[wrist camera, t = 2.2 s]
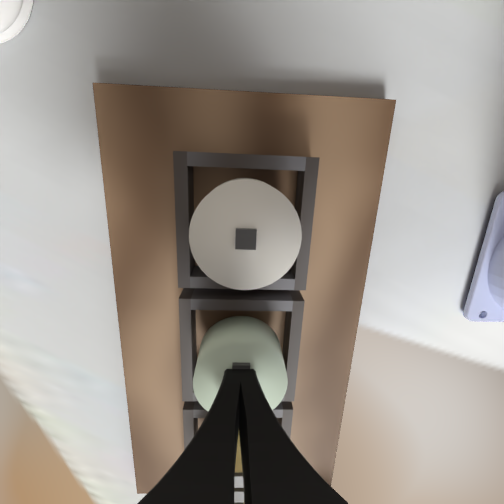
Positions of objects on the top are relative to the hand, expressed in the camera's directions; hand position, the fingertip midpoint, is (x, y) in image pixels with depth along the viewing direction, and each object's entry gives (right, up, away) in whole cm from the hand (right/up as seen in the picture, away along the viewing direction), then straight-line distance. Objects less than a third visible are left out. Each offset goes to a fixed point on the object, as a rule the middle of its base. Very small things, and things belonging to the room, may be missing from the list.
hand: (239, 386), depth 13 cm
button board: (0, +1, +5) cm, 5 cm away
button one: (0, +7, 0) cm, 7 cm away
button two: (0, +1, +2) cm, 3 cm away
